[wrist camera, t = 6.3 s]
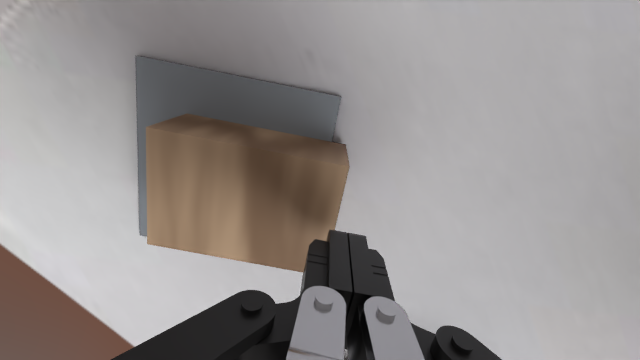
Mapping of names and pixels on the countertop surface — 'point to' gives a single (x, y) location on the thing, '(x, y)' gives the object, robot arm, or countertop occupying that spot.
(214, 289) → the countertop surface
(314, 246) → the robot arm
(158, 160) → the walnut block
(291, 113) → the mat
